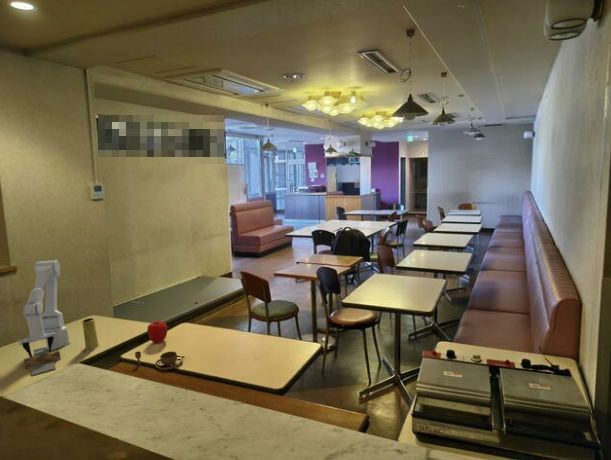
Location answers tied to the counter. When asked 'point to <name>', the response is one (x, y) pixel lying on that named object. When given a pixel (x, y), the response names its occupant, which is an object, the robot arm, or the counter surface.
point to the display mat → (43, 368)
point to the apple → (157, 331)
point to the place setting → (163, 359)
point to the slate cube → (40, 351)
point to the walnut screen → (42, 359)
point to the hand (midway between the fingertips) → (40, 354)
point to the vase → (90, 333)
